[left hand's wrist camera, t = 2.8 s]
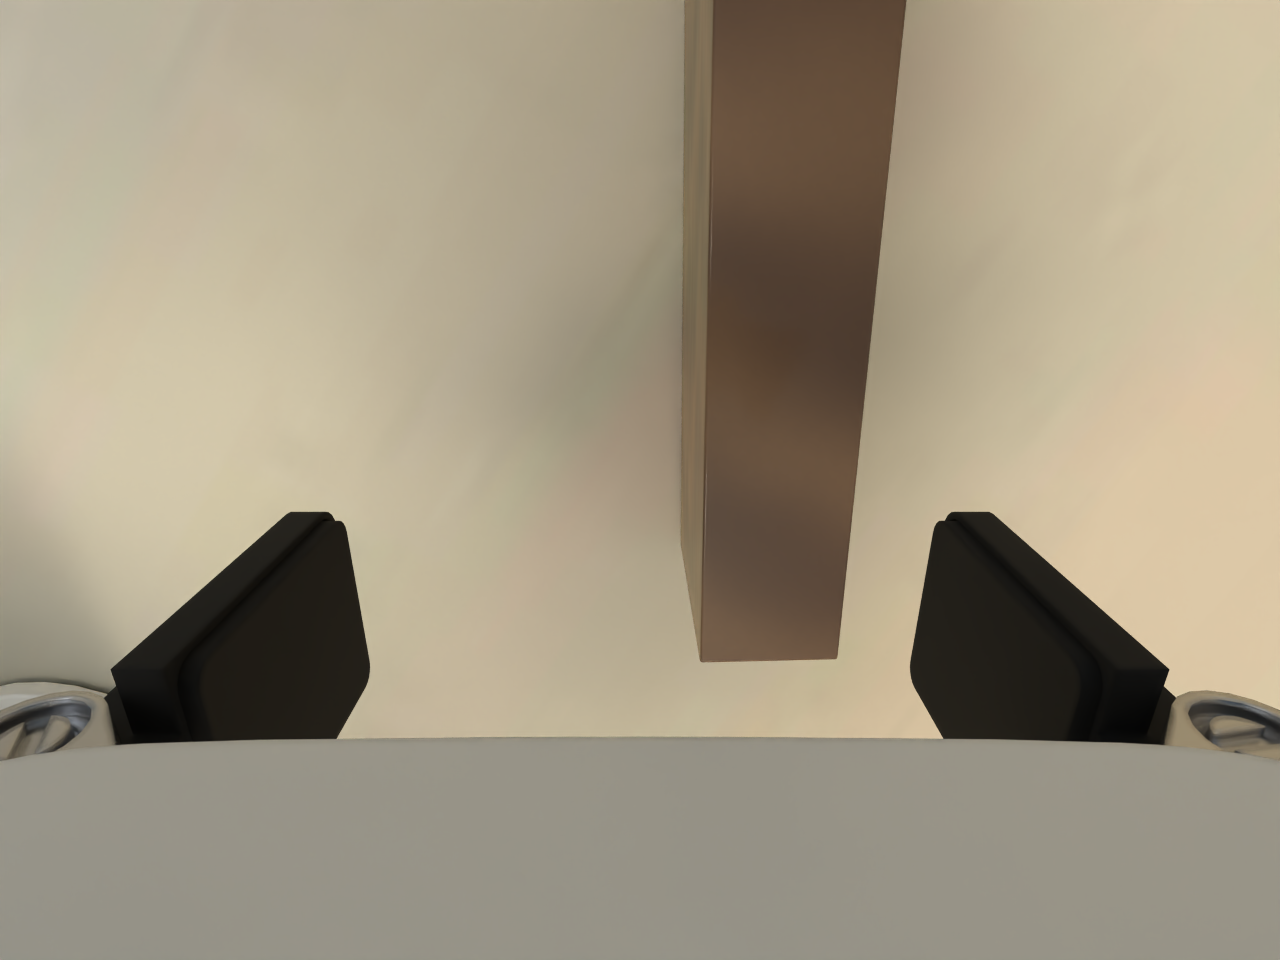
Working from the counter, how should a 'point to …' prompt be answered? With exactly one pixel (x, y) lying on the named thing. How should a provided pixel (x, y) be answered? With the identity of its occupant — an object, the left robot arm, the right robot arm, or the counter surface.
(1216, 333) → the counter surface
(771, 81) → the beam
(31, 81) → the counter surface
